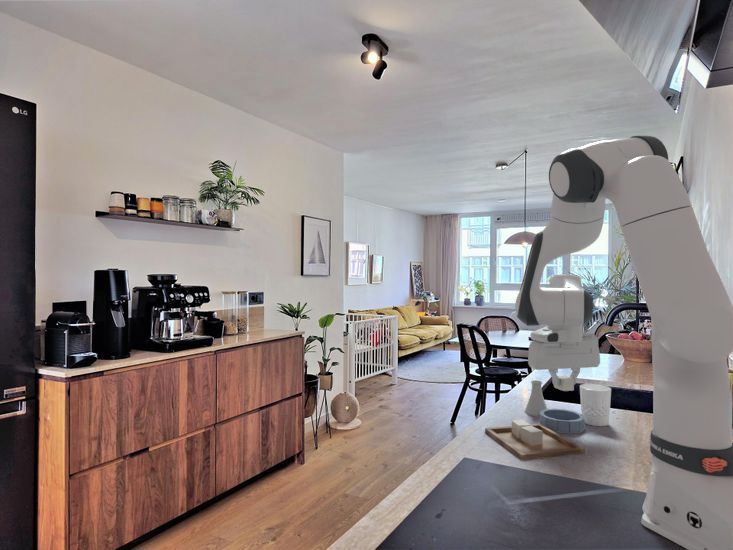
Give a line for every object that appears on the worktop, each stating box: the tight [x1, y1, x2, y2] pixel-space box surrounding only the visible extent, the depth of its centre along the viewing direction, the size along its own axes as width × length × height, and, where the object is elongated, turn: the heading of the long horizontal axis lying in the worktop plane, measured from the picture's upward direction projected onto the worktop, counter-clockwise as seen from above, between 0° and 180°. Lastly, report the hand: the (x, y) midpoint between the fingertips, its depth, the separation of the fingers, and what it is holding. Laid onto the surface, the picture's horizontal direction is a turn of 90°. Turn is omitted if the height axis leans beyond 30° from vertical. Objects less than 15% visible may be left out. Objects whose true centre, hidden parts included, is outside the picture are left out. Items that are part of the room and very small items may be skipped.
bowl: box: [539, 408, 585, 434], centre depth 125 cm, size 11×11×4 cm
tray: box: [484, 423, 586, 461], centre depth 114 cm, size 18×16×2 cm
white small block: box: [553, 374, 575, 392], centre depth 126 cm, size 4×3×3 cm
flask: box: [524, 379, 548, 417], centre depth 137 cm, size 7×7×10 cm
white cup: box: [579, 383, 612, 427], centre depth 130 cm, size 8×8×10 cm
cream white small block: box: [521, 426, 543, 446], centre depth 113 cm, size 4×3×3 cm
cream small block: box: [511, 419, 532, 438], centre depth 118 cm, size 4×3×3 cm
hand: (564, 384), depth 126 cm, fingers closed on white small block, 3 cm apart
